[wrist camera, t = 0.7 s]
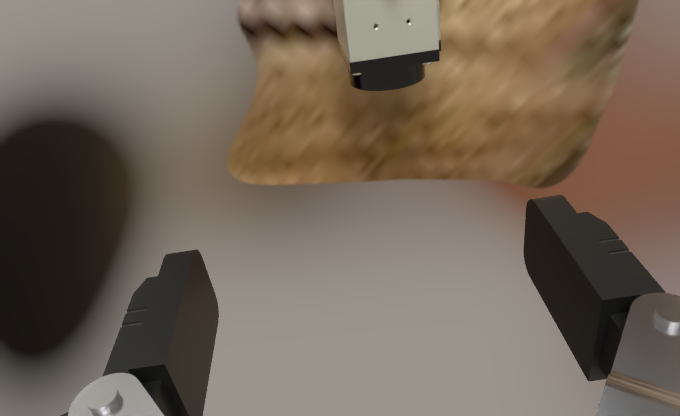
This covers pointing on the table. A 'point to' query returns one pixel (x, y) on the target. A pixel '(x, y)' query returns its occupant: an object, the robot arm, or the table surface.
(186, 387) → the robot arm
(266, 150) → the table surface
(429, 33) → the pneumatic valve
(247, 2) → the table surface
